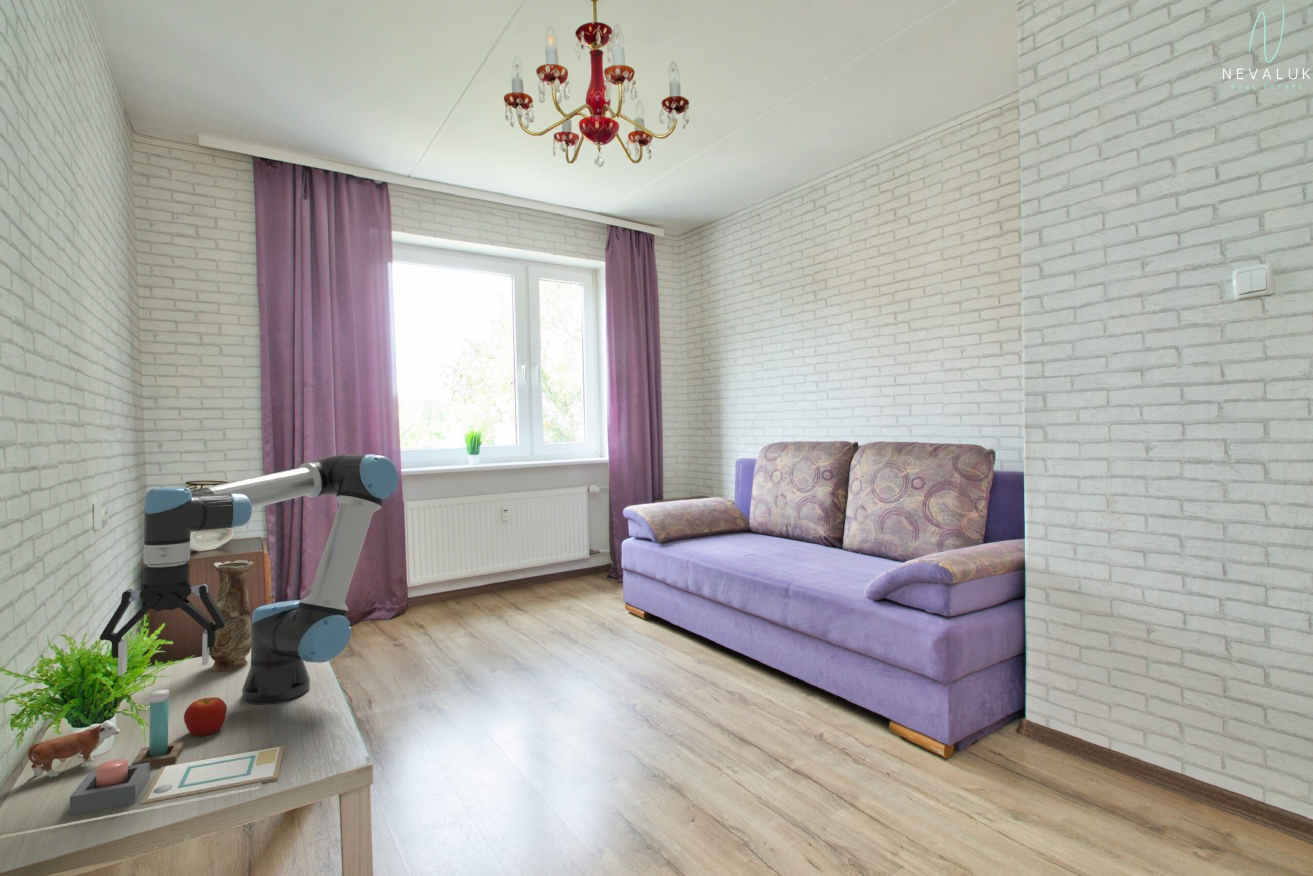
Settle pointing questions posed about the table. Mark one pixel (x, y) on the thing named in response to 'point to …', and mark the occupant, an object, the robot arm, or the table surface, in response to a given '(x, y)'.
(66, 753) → the bull figurine
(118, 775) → the button
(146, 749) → the marker holder
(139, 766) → the button housing
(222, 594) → the vase
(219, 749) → the table surface
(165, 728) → the marker
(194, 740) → the table surface
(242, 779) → the colouring sheet
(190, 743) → the table surface
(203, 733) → the apple
